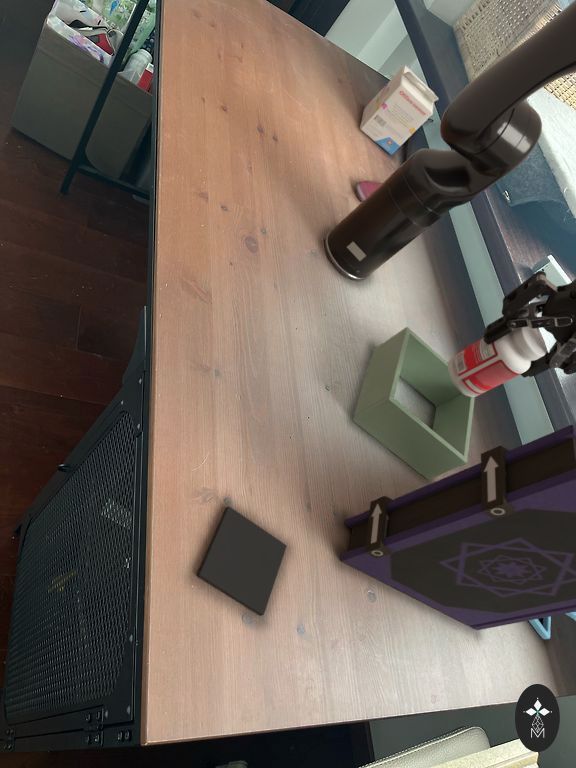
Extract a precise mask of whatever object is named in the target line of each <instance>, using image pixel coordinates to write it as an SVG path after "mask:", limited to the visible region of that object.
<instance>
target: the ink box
mask: <svg viewBox="0 0 576 768" xmlns="http://www.w3.org/2000/svg"><path fill="white" fill-rule="evenodd" d="M436 101H439V97H438V96H437V95H436V94H435V92H434V91H433V90H432V89H431V88H430V87H429V86H427V85H426V83H425V82H424V81H422V80H421V79H420V78H419V77H418V76H417V75H416V74H415V72H413V71H412V70H411V69H410V68H409V67H408V66H407V65H405V64H404V65H403V66H402V67H401V68H400V69H399V70H398V71H397V72H396V73H395V74H394V76H393V77H392V78H390V80H389V81H388V82H387V83H386V84H385V85H384V86H383V87H382V88H381V90H380V91H379V92H378V93H377V94H376V95H375V96H374V97H373V99H371V101H370V102H369V103H368V104H367V105H366V106H365V107H364V109H363V112H362V117H361V122H360V125H359V130H360V131H361V132H362V133H364V135H366V136H367V137H369V138H370V139H371V140H372V141H373V142H374V143H376V144H377V145H378V146H379V147H380V148H381V149H383V150H384V151H385V152H386V153H388V155H390V156H393V154H394V153H395V152H396V151H397V150H398V149H399V148H401V146H402V145H403V144H404V143H405V142H407V140H408V138H409V137H410V136H411V135H412V134H413V135H414V133H415V132H417V131H418V129H419V128H421V127H422V125H423V124H424V123H425V122H427V121H428V120H427V119H428V118H429V117H430V116H433V114H434V107H435V106H434V104H435V102H436ZM426 120H427V121H426ZM413 135H412V136H413Z"/></svg>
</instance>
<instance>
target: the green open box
mask: <svg viewBox="0 0 576 768" xmlns="http://www.w3.org/2000/svg"><path fill="white" fill-rule="evenodd" d="M448 362H449V361H447V360H446V359H445V358H444V357H442V355H441V354H439V353H438V352H436V351H435V350H434V349H433V348H432V347H431V346H430V345H429V344H428V343H426V342H425V341H424V340H423V339H422V338H421V337H420V336H419V335H418V334H417V333H416V332H414V331H413V330H411V328H410V327H408V326H406V327H404V328H403V329H401V330H400V331H399V332H397V333H396V334H394V335H392V336H391V337H389V338H388V339H387V340H385V341H384V342H382V343H381V344H378V345H377V347H375V348H373V350H372V353H371V357H370V360H369V363H368V367H367V370H366V373H365V376H364V380H363V384H362V387H361V390H360V393H359V397H358V400H357V404H356V407H355V409H354V414H353V417H352V422H354V423H355V424H356V425H357V426H359V427H360V428H361V429H362V430H364V431H365V432H366V433H368V434H369V435H370V436H372V437H373V438H374V439H375V440H377V442H379V443H380V444H381V445H383V446H384V447H385V448H386V449H388V450H389V451H391V453H393V454H394V455H395V456H397V457H398V458H399V459H400V460H402V461H403V462H404V463H406V464H407V465H408V466H409V467H411V468H412V469H413V470H414V471H416V472H417V473H418V474H420V475H421V476H422V477H423V478H425V479H426V480H428V481H429V480H431V479H433V478H436V477H438V476H441V475H443V474H445V473H447V472H450V471H452V470H455V469H458V468H459V467H462V466H465V465H466V464H468V459H469V458H468V457H469V449H470V442H471V433H472V426H473V425H472V424H473V415H474V408H475V399H476V397H468V396H466V395H464V394H462V393H461V392H460V391H459V390H458V389H457V388H456V386H455V385H454V383H453V382H452V380H451V378H450V375H449V371H448ZM400 378H402V380H404V381H405V382H406V383H408V384H409V385H410V386H411V387H413V389H415V390H416V391H417V392H418V393H419V394H420V395H422V396H423V397H424V398H426V400H428V402H430V403H431V404H433V405H434V406H435V413H434V419H433V424H432V428H430V427H429V425H428V424H426V423H425V422H423V421H422V420H421V419H420V418H419V417H418V416H416V415H415V414H414V413H413V412H411V411H410V410H409V409H407V407H405V406H404V405H403V404H402V403H400V402H399V400H397V399H395V397H396V393H397V389H398V385H399V382H400V381H399V380H400Z"/></svg>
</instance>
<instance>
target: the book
mask: <svg viewBox="0 0 576 768" xmlns="http://www.w3.org/2000/svg"><path fill="white" fill-rule="evenodd" d="M369 504H370V505H369V509H367V510H365V511H363V512H360V513H357V514H355V515H352V516H350V517H348V518H346V519H344V526H346V527H348V528H350V529H351V536H350V542H349V550H348V551H346V552H343V553H341V554H340V555H339V561H340V562H342V563H345V564H346V565H348V566H350V567H352V568H354V569H355V570H358V571H360V572H362V573H364V574H366V575H368V576H369V577H372V578H373V579H375V580H377V581H379V582H381V583H384V584H385V585H387V586H389V587H391V588H393V589H395V590H397V591H399V592H401V593H403V594H405V595H406V596H409V597H411V598H413V599H415V600H417V601H418V602H420V603H423V604H425V605H426V606H429V607H430V608H432V609H434V610H436V611H439V612H441V613H442V614H444V615H446V616H448V617H450V618H452V619H454V620H456V621H459V622H460V623H462V624H464V625H466V626H467V627H468V626H470V627H471V628H472V629H474V630H476V631H480V630H481V631H482V630H486V629H491V628H496V627H502V626H508V625H513V624H518V623H523V622H529V620H534V619H538V620H540V619H543V618H545V617H550V616H551V617H555V616H560V615H566V613H571V612H576V426H575V425H573V424H570V425H568V426H565V427H563V428H560V429H557V430H555V431H553V432H551V433H548V434H546V435H544V436H543V435H542V436H541V437H538V438H536V439H534V440H532V441H529V442H527V443H524V444H521V445H520V446H517V447H515V448H513V449H510V450H508V449H507V448H506V447H504V446H503V445H499V446H496V447H494V448H491V449H489V450H487V451H485V452H482V453H480V462H479V463H477V464H475V465H472V466H470V467H467V468H465V469H463V470H460V471H458V472H456V473H453V474H451V475H448V476H446V477H443V478H441V479H438V480H436V481H434V482H431V483H429V484H427V485H425V486H422V487H420V488H418V489H417V488H416V489H415V490H412V491H410V492H407V493H406V494H402V495H400V496H398V497H396V498H393V499H392V498H390V497H389V496H387V495H382V496H380V497H378V498H375V499H373V500H371V501H370V503H369Z"/></svg>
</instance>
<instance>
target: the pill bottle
mask: <svg viewBox="0 0 576 768" xmlns="http://www.w3.org/2000/svg"><path fill="white" fill-rule="evenodd" d="M483 339H484V337H482V338H481V339H478V341H476V342H474V343H472V344H470V345H468V346H467V347H464V349H462V350H460V351H457V353H455V354H453V355H452V356H450V357H449V359H448V361H447V362H448V371H449V375H450V378H451V380H452V382H453V383H454V385H455V386H456V388H457V389H458V390H459V391H460V392H461V393H462V394H464V395H466V396H468V397H475V398H476V397H478V396H480V395H482V394H485V393H486V392H488V391H490V390H491V389H494V388H496V387H498V386H500V385H503V384H504V383H507V382H509V381H510V380H512V379H514V378H516V377H518V376H521V375H520V374H522V373H524V372H526V371H527V370H528V369H529V367H530V365H531V361H534V360H537V359H539V358H541V357H542V356H544V355H545V354H546V351H547V345H546V341H545V339H544V337H543V335H542V334H541V333H540V331H539V329H538V328H535V329H531V328H530V327H523V328H515V329H512V332H511V333H509V334H507V335H505V336H503V337H502V338H500V339H498V340H496V341H495V342H493V343H491V344H489V345H488V344H486V343H485V342H484V341H483Z"/></svg>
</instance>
